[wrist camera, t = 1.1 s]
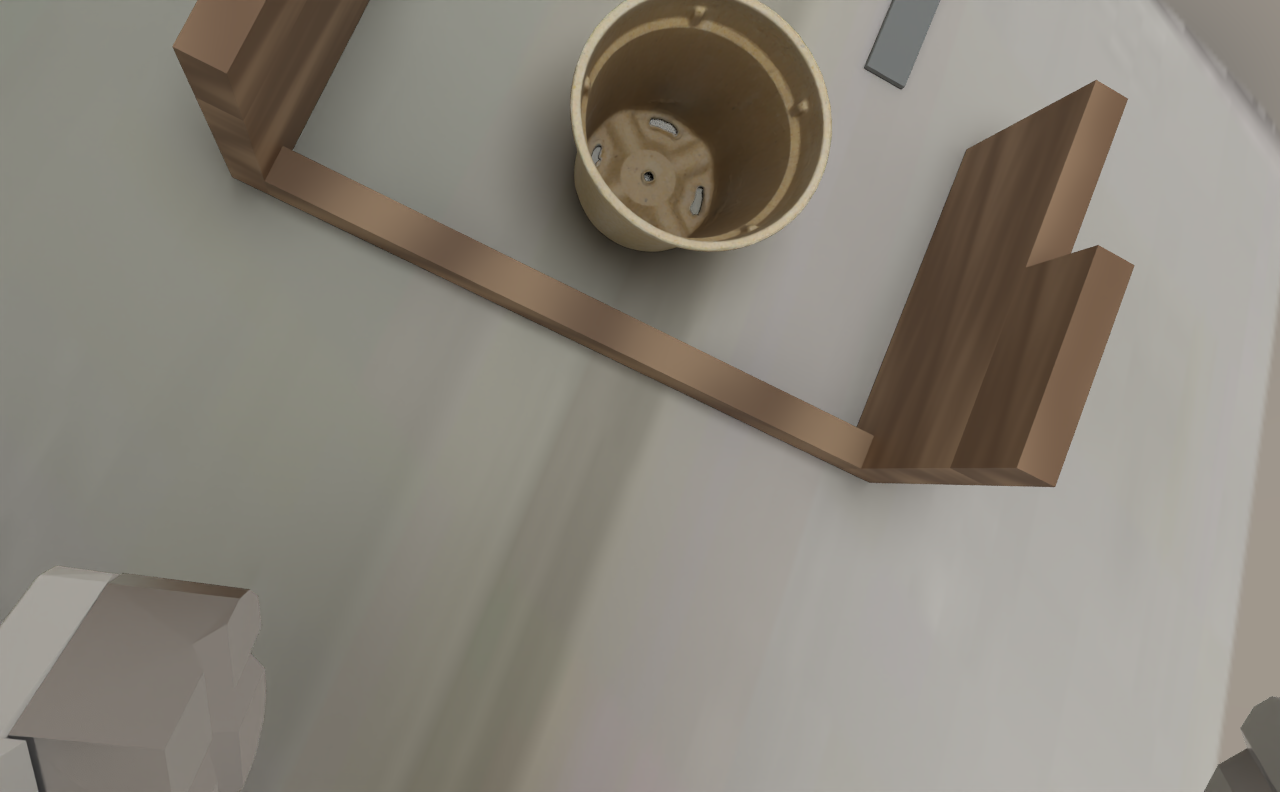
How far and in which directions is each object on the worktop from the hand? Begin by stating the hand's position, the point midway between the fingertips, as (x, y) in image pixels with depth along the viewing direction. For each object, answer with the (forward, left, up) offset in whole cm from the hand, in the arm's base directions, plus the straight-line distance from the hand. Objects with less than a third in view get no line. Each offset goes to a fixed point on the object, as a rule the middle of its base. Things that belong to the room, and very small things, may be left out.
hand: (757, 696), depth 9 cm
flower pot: (+2, +16, -35) cm, 38 cm away
